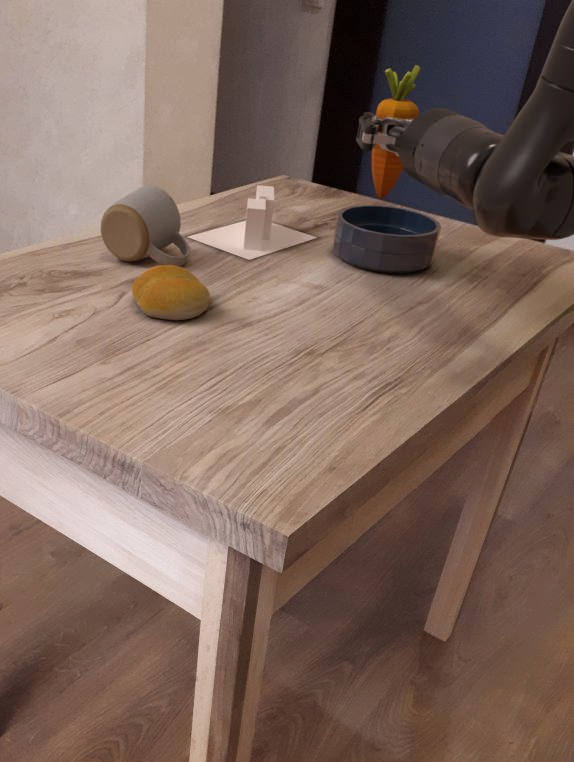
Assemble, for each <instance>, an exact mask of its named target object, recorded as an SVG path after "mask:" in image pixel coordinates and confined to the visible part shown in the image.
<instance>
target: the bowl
mask: <svg viewBox="0 0 574 762" xmlns="http://www.w3.org/2000/svg"><path fill="white" fill-rule="evenodd" d="M441 230H442V225H441V224H440V222H439V221H438V220H437V219H435V218H434V217H432V216H430V215H427V214H425V213H423V212H420V211H416V210H413V209H409V208H404V207H398V206H392V205H383V204H382V205H381V204H359V205H350V206H348V207H344V208H342V209H341V210H339V211H338V212H337V215H336V220H335V226H334V232H333V238H332V239H333V240H332V252H333V253H334V254H335V255H336V257H338V258H340V259H341V260H343V261H344V262H345V263H347V264H349V265H351V266H353V267H356V268H359V269H362V270H367V271H370V272H377V273H384V274H409V273H413V272H418V271H420V270H423V269H426V268H428V267H430V266H432V264H433V262H434V260H435V257H436V252H437V248H438V244H439V239H440V235H441Z"/></svg>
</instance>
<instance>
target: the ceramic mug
mask: <svg viewBox="0 0 574 762" xmlns="http://www.w3.org/2000/svg"><path fill="white" fill-rule="evenodd" d="M181 226H182V225H181V214H180V211H179V208H178V206H177V204H176V202H175V201H174V199H173V198H172V196H171V195H170V194H169V193H168V192H167V191H165V190H164V189H162V188H161V187H158V186H155V185H143V186H140V187H139V188H137V189H135V190H134V191H132V192H131V193H128V194H127V195H125V196H124V197H122V198H120V199H118V200H117V201H115V202H113V203H112V204H111V205H110V206H109V207H108V208H107V209H106V210H105V212H104V213H103V215H102V217H101V220H100V236H101V239H102V241H103V244H104V246H105V247H106V248H107V250H108V251H109V252H110V254H111V255H113V256H114V257H116V258H117V259H118V260H121V261H125V262H136V261H141V260H144V259H145V258H147V257H150V258H151V259H152V261H155V262H157V263H158V264H159V265H175V266H178V267H182V266H183V265H185V264H186V263H187V261H188V259H189V257H190V255H191V247H190V245H189V243H188V241H187V240H186V239H185V238H184V236H183V235H182V234H181V233H180V231H181ZM172 244H174V246H176V247H177V248H178V249H179V251H180V252H181V254H182V255H183V256H173V255H170V254H167V253H165V252H163V251H162V250H164V249H165V248H167V247H169V246H171V245H172Z"/></svg>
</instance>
